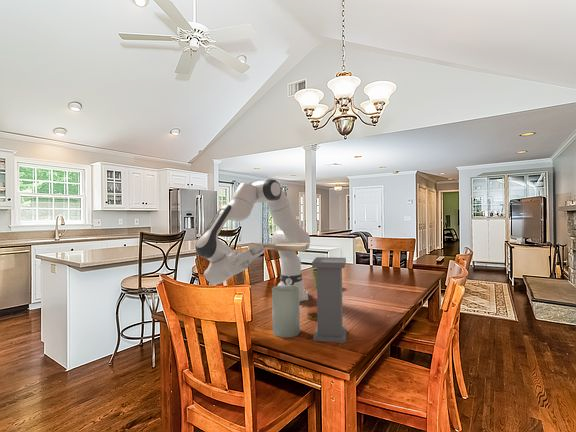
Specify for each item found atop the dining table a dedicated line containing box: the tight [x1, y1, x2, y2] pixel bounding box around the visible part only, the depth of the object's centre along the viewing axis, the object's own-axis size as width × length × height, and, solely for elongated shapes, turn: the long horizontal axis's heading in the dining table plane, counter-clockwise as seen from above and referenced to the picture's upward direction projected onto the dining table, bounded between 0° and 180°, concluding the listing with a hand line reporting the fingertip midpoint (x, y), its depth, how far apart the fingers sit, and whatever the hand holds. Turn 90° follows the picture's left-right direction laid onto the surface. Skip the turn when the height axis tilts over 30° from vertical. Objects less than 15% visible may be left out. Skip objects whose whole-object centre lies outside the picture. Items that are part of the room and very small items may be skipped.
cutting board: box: [247, 242, 310, 252], centre depth 128 cm, size 12×24×2 cm, turn 77°
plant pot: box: [311, 267, 317, 289], centre depth 200 cm, size 12×12×11 cm
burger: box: [307, 306, 317, 322], centre depth 144 cm, size 10×9×5 cm
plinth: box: [311, 256, 348, 344], centre depth 123 cm, size 12×12×30 cm
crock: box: [271, 285, 301, 339], centre depth 128 cm, size 11×11×18 cm
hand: (265, 245), depth 129 cm, fingers closed on cutting board, 4 cm apart
